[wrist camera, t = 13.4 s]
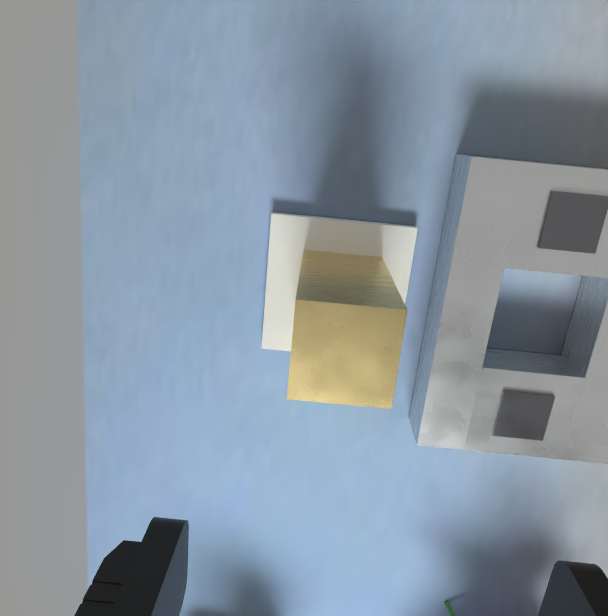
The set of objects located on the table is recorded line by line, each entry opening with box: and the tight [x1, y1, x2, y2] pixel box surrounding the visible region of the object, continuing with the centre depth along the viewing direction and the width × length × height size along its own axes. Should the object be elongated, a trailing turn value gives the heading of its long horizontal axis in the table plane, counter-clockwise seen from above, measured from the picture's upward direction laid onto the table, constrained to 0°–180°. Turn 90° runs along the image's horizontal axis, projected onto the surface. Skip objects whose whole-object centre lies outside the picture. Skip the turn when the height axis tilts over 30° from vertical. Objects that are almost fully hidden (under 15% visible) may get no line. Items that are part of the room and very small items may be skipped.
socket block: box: [409, 154, 608, 464], centre depth 29 cm, size 11×16×3 cm
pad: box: [262, 212, 418, 351], centre depth 30 cm, size 8×8×1 cm
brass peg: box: [287, 250, 407, 409], centre depth 25 cm, size 4×4×9 cm
